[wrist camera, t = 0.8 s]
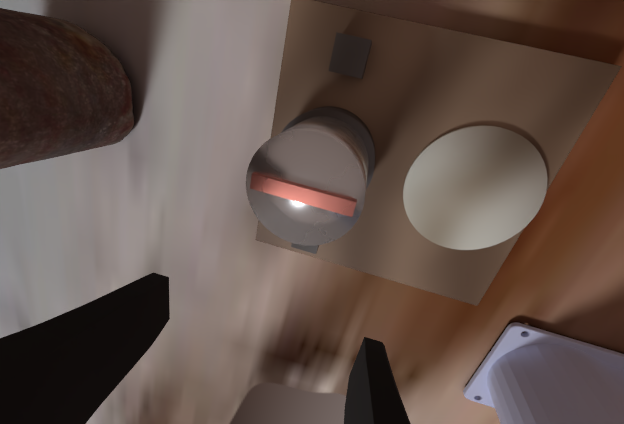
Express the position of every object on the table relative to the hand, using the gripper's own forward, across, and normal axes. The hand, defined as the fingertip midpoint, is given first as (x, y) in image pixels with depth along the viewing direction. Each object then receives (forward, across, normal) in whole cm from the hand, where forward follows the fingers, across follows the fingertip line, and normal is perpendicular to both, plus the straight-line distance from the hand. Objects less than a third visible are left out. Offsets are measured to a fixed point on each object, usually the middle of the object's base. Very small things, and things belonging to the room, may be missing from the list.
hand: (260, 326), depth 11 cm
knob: (+7, 0, -4) cm, 8 cm away
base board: (+10, -4, -4) cm, 12 cm away
